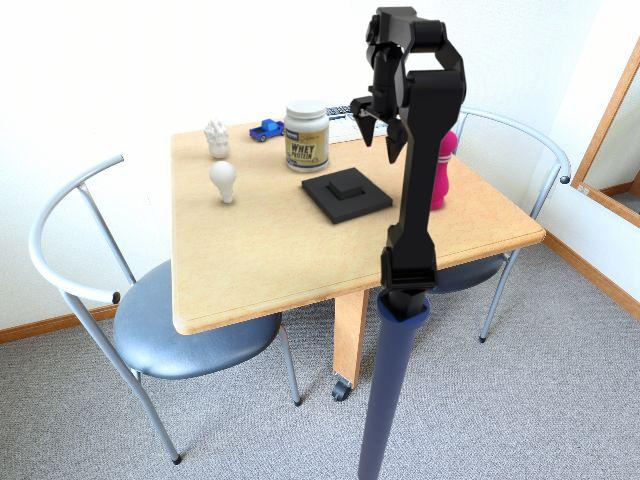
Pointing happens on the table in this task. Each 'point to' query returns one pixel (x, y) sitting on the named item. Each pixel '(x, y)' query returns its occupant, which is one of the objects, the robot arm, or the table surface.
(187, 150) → the table surface
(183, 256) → the table surface
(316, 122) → the supplement tub
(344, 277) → the table surface
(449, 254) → the table surface
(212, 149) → the figurine
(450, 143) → the pepper mill
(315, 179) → the socket pad
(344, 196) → the small pad
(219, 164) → the lightbulb
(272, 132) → the toy car
